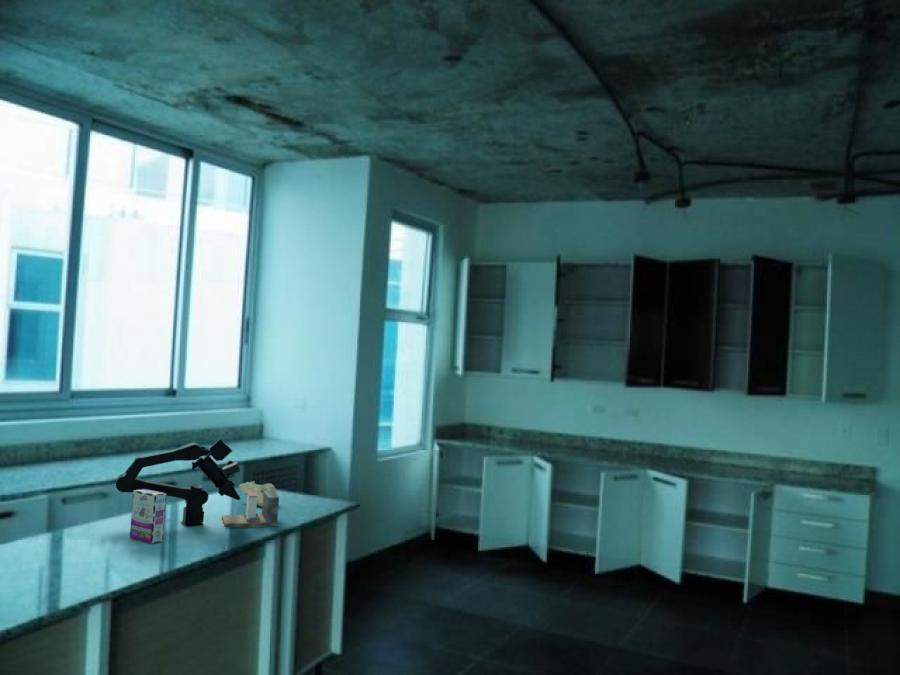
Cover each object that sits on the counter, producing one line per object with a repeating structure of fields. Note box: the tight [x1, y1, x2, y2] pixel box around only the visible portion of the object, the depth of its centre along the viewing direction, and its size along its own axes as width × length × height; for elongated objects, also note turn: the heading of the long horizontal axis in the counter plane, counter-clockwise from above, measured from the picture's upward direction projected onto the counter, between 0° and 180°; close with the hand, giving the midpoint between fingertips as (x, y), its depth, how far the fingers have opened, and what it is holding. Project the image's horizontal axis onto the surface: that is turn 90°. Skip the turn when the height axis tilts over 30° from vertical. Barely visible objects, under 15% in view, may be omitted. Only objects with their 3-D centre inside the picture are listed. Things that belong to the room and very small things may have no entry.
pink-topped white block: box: [245, 493, 258, 518], centre depth 277 cm, size 3×6×9 cm, turn 22°
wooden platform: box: [221, 490, 280, 528], centre depth 277 cm, size 19×13×11 cm
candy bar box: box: [129, 489, 167, 545], centre depth 245 cm, size 11×5×16 cm, turn 62°
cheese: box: [238, 480, 277, 508], centre depth 309 cm, size 15×7×15 cm
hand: (239, 499), depth 276 cm, fingers closed
